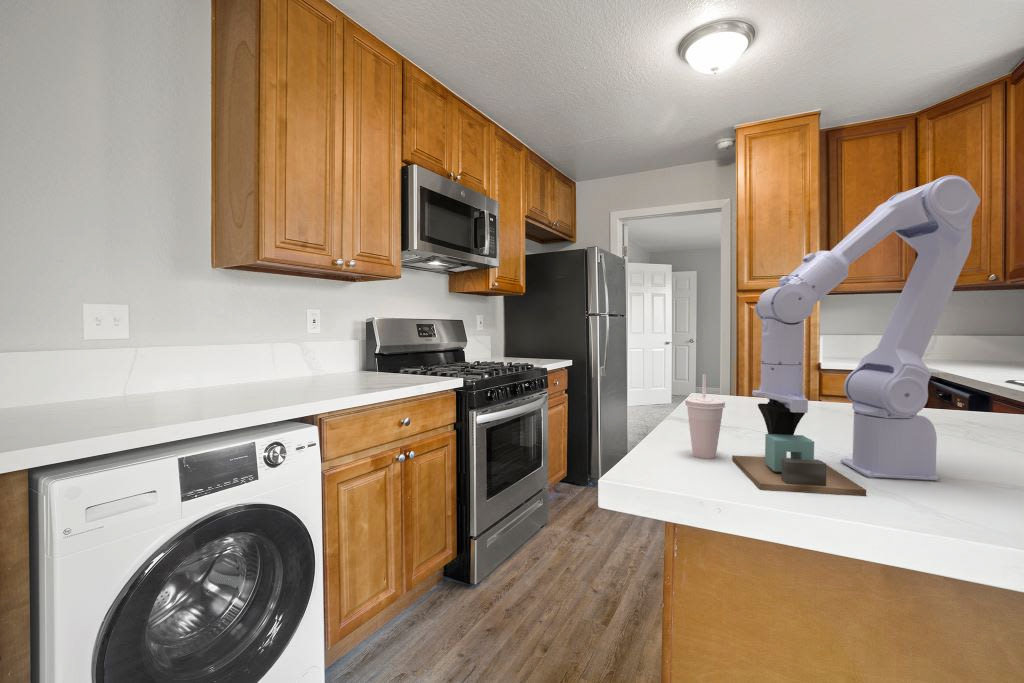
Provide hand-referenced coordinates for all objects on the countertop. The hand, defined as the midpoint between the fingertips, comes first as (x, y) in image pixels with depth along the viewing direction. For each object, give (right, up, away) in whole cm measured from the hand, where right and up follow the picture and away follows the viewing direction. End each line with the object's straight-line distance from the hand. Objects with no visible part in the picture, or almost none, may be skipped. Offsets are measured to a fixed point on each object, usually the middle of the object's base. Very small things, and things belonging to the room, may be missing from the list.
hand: (779, 450), depth 73 cm
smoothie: (-9, -3, +8) cm, 12 cm away
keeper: (-1, -2, -3) cm, 4 cm away
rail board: (0, -3, -3) cm, 4 cm away
